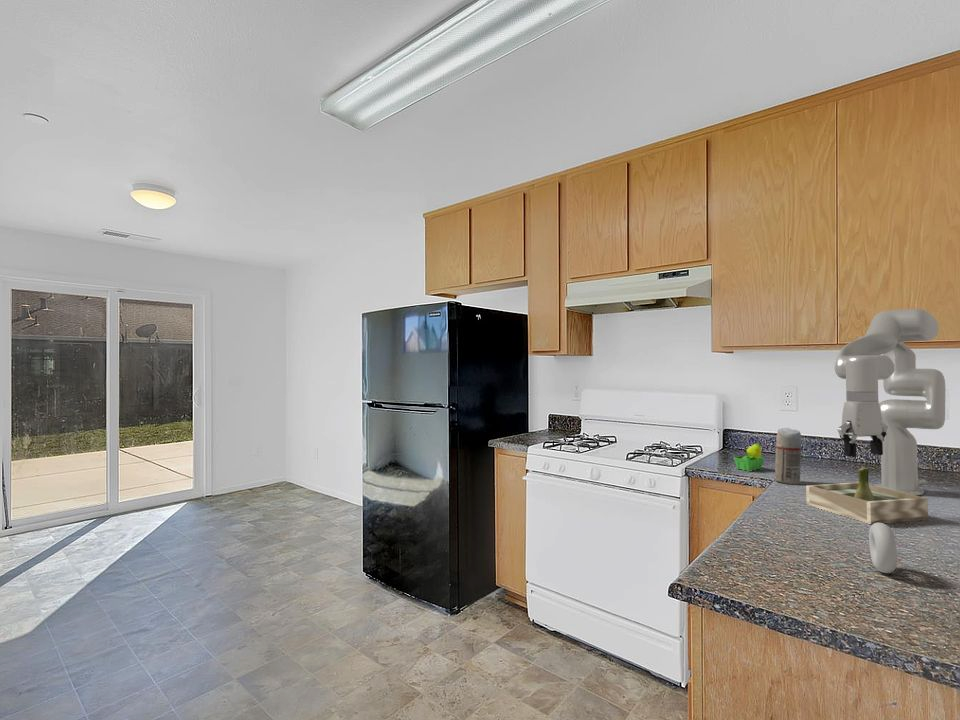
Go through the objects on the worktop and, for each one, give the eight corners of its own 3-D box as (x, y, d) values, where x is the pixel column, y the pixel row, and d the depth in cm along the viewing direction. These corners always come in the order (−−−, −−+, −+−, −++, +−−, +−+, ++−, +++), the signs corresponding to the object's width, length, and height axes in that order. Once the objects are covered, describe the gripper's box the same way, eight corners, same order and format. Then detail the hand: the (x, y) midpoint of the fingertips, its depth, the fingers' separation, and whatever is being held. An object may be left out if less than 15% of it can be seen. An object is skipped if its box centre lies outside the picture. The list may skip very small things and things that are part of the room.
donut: (867, 561, 107) (866, 515, 107) (887, 564, 105) (886, 518, 106) (877, 578, 98) (876, 528, 99) (899, 582, 97) (899, 531, 97)
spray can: (798, 480, 185) (797, 427, 186) (804, 485, 177) (803, 430, 178) (772, 479, 188) (771, 427, 188) (777, 483, 180) (777, 429, 181)
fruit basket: (748, 466, 213) (747, 440, 213) (768, 470, 205) (768, 443, 205) (732, 469, 207) (732, 442, 207) (753, 473, 199) (753, 445, 199)
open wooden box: (858, 501, 156) (858, 482, 156) (928, 519, 137) (927, 498, 137) (806, 505, 152) (806, 485, 152) (870, 524, 132) (870, 502, 133)
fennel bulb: (864, 505, 147) (864, 465, 148) (881, 510, 143) (880, 469, 143) (848, 506, 146) (847, 466, 147) (864, 511, 142) (863, 469, 142)
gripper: (872, 395, 151) (874, 451, 150) (826, 397, 147) (828, 454, 147) (898, 397, 143) (899, 455, 143) (850, 399, 140) (852, 459, 139)
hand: (863, 455), depth 145 cm, fingers open, 9 cm apart
